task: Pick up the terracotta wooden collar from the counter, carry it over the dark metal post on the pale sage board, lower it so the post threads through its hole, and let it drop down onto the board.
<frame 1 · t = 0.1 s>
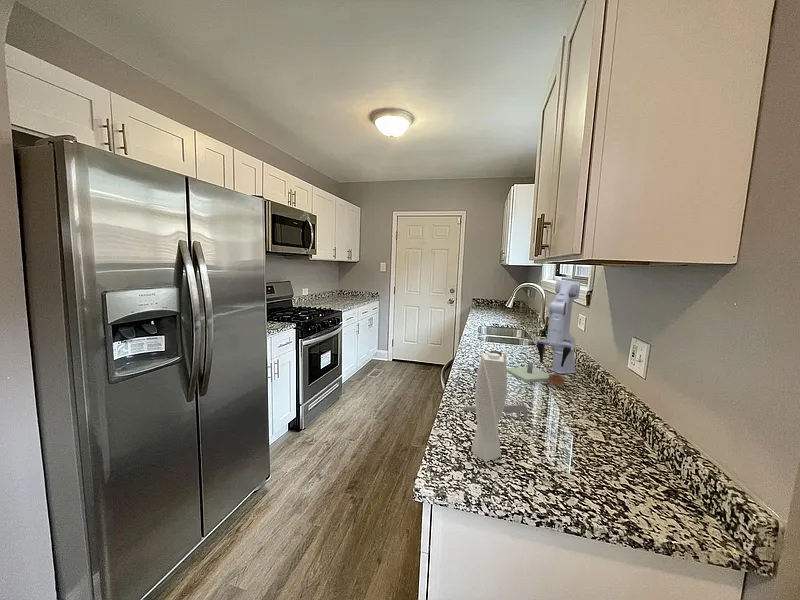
hand: (551, 364, 134), 10 cm above the counter, tool pointing down, fingers open, 7 cm apart
supplement bottle: (493, 379, 145), on the counter
collar: (555, 383, 144), on the counter
skyscraper: (486, 455, 86), on the counter
post board: (529, 375, 153), on the counter
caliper: (493, 416, 110), on the counter
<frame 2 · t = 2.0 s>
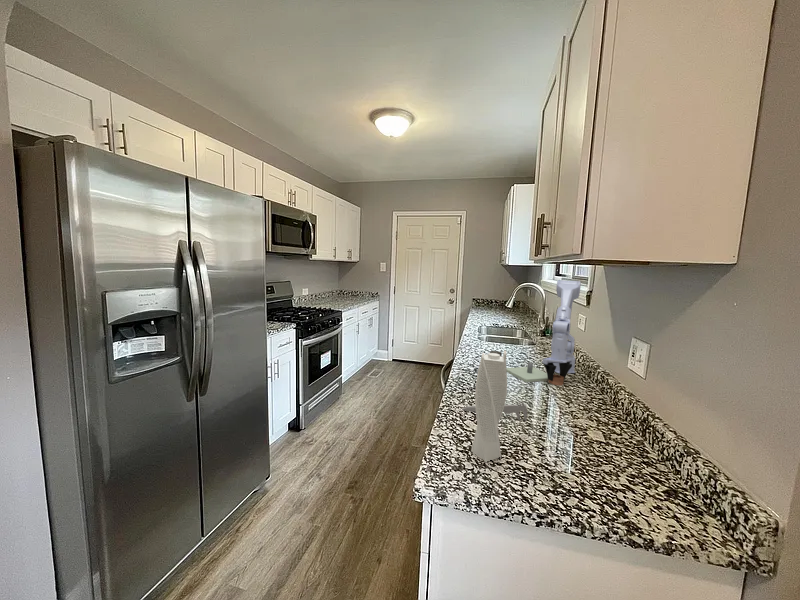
hand: (556, 379, 144), 2 cm above the counter, tool pointing down, fingers closed on collar, 6 cm apart
collar: (555, 383, 144), on the counter, touching gripper
everything else where it was.
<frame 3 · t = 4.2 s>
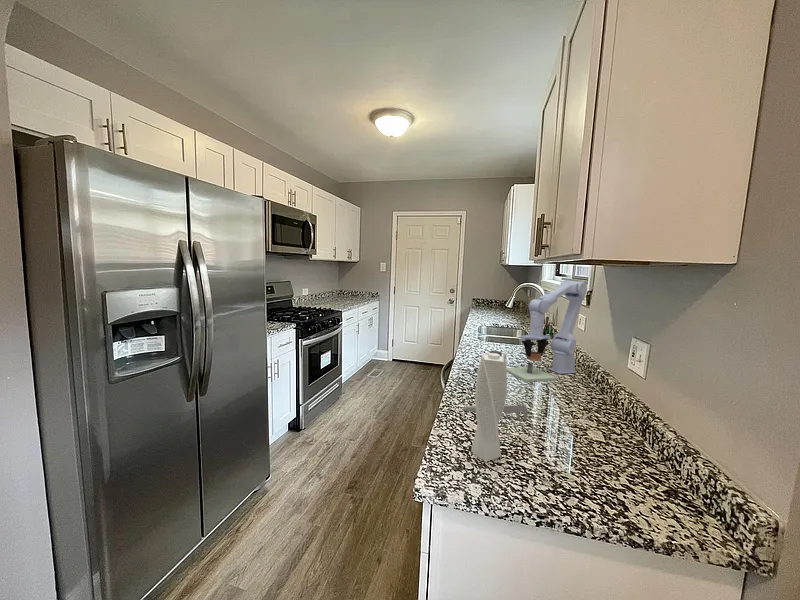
hand: (533, 355, 151), 9 cm above the counter, tool pointing down, fingers closed on collar, 6 cm apart
collar: (533, 359, 151), point 8 cm above the counter, touching gripper
everything else where it was.
when the fingers open (6 cm above the counter, at t = 6.4 s): collar drops 3 cm, resting on post board.
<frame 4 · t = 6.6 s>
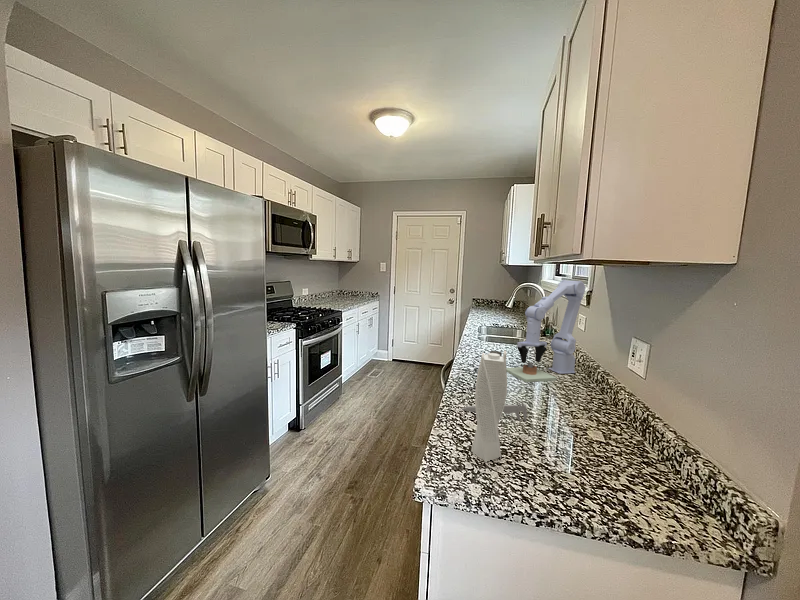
hand: (530, 362, 152), 6 cm above the counter, tool pointing down, fingers open, 7 cm apart
collar: (529, 372, 153), point 1 cm above the counter, touching post board
everything else where it was.
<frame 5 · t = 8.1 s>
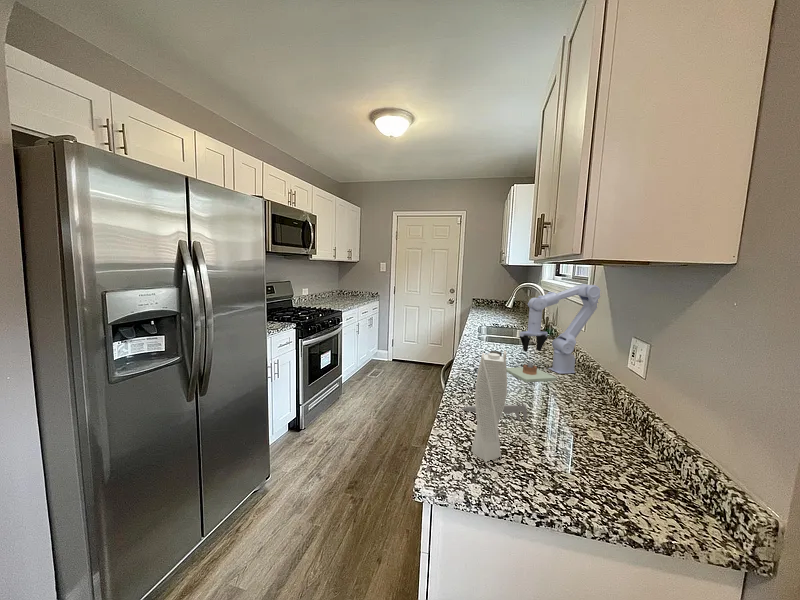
hand: (532, 350, 160), 9 cm above the counter, tool pointing down, fingers open, 7 cm apart
nothing on the counter moved.
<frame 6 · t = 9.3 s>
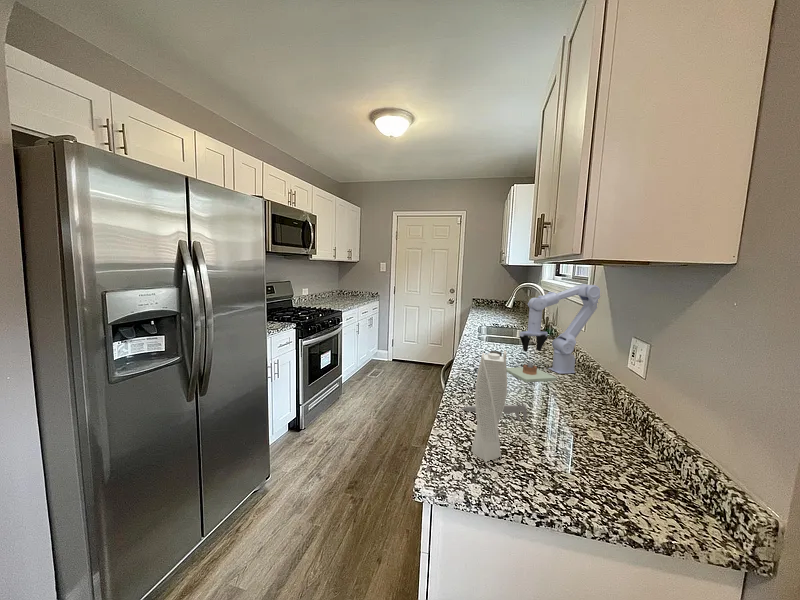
hand: (532, 350, 160), 9 cm above the counter, tool pointing down, fingers open, 7 cm apart
nothing on the counter moved.
at the end: collar 0.1 cm from the post board (horizontally); collar point 1.2 cm above the counter; the gripper is holding nothing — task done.
